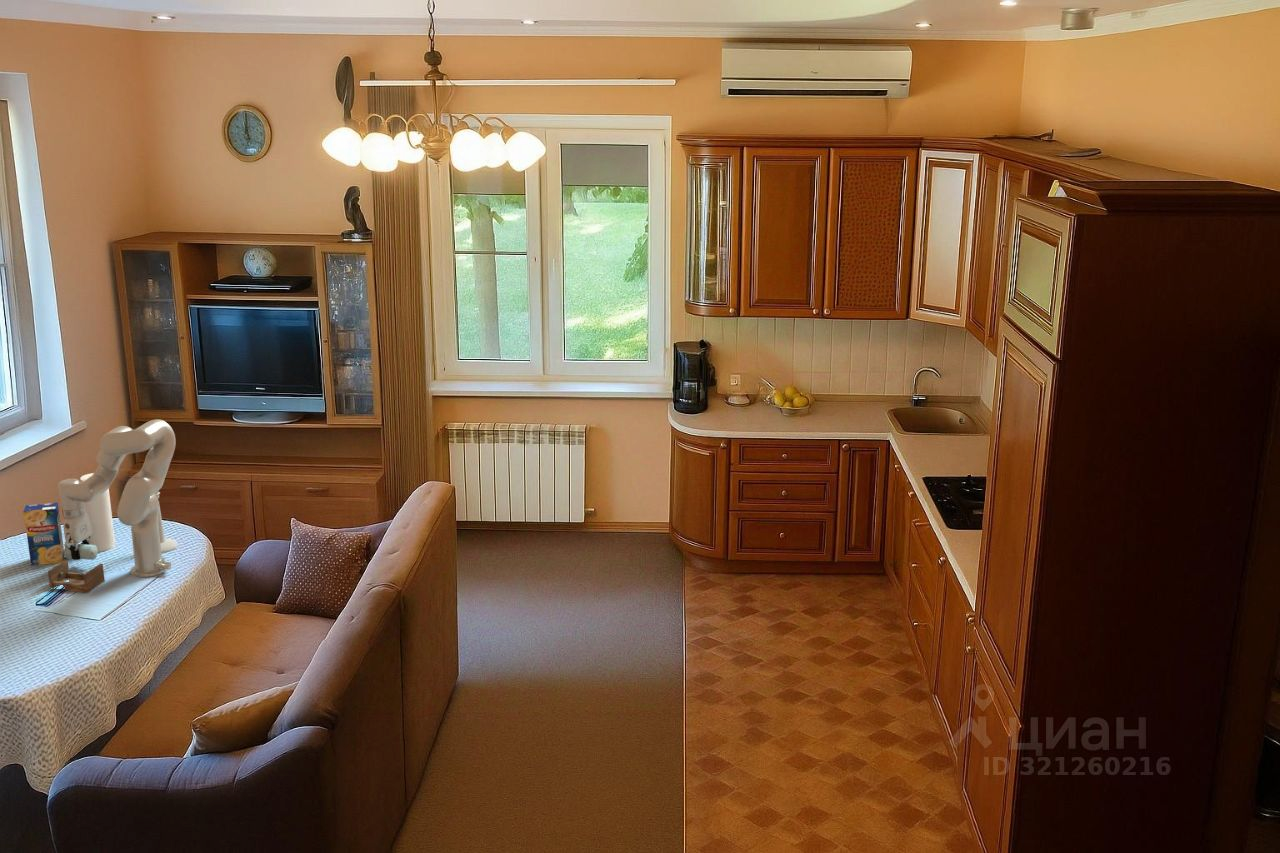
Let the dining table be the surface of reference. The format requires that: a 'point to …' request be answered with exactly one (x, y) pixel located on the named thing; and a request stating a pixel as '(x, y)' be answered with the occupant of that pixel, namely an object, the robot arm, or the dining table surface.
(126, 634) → the dining table surface
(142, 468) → the robot arm
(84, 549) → the roll
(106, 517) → the cylinder container
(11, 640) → the dining table surface
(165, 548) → the candlestick
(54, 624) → the dining table surface
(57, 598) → the dining table surface
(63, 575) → the holder
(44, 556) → the beverage box
